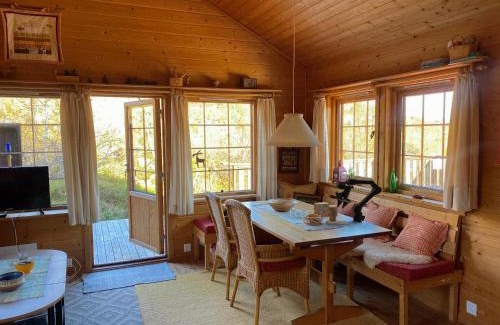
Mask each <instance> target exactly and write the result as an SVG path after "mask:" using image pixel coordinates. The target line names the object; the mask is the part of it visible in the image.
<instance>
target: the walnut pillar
mask: <svg viewBox="0 0 500 325" xmlns="http://www.w3.org/2000/svg"><path fill="white" fill-rule="evenodd" d="M328 218H329V219H328V220H329V221H335V222H336V220H337V216H336V208H334V207H330V215H329V216H328Z"/></svg>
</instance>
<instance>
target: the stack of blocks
mask: <svg viewBox="0 0 500 325" xmlns="http://www.w3.org/2000/svg"><path fill="white" fill-rule="evenodd" d="M330 207H334V208H336V217H337V216H338V212H339V211H338V210H339V209H338V208H339V207H337V204H336V205H335V204H330V203H329V202H325V201H324V202H314V203H313V215H314V214H318V215H321V216H322V217H329V215H330Z"/></svg>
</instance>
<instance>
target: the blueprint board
mask: <svg viewBox="0 0 500 325" xmlns="http://www.w3.org/2000/svg"><path fill="white" fill-rule="evenodd" d="M325 223H326V224H327V226H350V223H349V222H347V221H346V220H337V219H336V222H335V221H329V219H326V220H325Z"/></svg>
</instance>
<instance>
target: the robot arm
mask: <svg viewBox="0 0 500 325" xmlns="http://www.w3.org/2000/svg"><path fill="white" fill-rule="evenodd" d="M354 185H355V186H356V185H369V186H370V187H371V190H370V192H369V193H368V194H367V195H366V196H365V197H364V198H363V199H362V200H360V201H359V202H358V203H354V204H353V205H352V206H351V212H352V213H353V215H352V221H353V222H355V223H363V221H362V218H363V217H362V216H363V212H362V209H363V207H364V206H365V205H367V204H368V202H370V201H371V200H372V199H373V198H374V197H375V196H377V195H379V194H380V193H382V192H383V188H382V187H381V186H379V185H378V184H377V183H376V182H375V181H374V180H372V179H356V178H352V177H348V179H346V180H345V181H341V180H338V181H337V183H336V185H335V188H336V189H338V190H336V191H335V199H336V201H337V202H336V206H337V207H338V208H339V207H340V206H341V205H342V207H341V209H344V208H346V207H347V206H348V205H349V204H350V203H351V202H352V200H351V199H350V198H349V197H350V195H351V194H350V193H351V191H352V189H353V190H354V189H355V187H354ZM339 190H341V192H340V191H339Z"/></svg>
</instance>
